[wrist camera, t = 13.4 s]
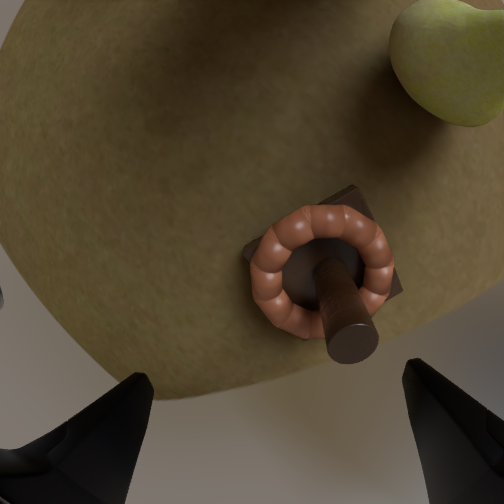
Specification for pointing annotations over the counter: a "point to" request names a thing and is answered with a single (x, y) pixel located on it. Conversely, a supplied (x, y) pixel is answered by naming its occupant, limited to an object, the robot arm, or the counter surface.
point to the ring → (299, 233)
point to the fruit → (451, 59)
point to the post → (334, 286)
